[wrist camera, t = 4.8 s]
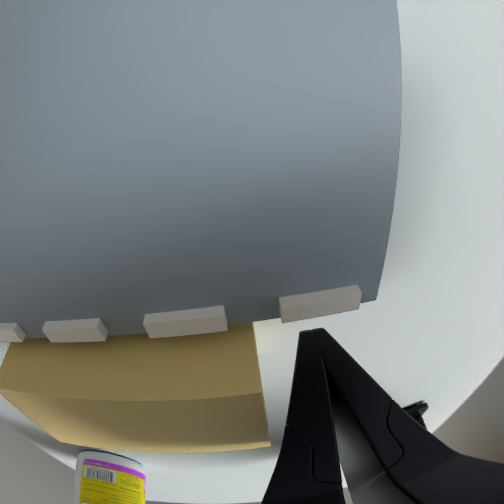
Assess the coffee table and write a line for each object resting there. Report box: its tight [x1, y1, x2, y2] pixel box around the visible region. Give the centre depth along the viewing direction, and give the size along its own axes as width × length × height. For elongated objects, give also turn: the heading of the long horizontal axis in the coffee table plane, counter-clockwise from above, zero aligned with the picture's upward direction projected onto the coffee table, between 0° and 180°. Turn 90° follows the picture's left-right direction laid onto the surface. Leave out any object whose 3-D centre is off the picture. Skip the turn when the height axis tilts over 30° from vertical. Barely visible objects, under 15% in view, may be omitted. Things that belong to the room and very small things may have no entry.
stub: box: [0, 322, 271, 453], centre depth 8 cm, size 8×4×4 cm, turn 96°
